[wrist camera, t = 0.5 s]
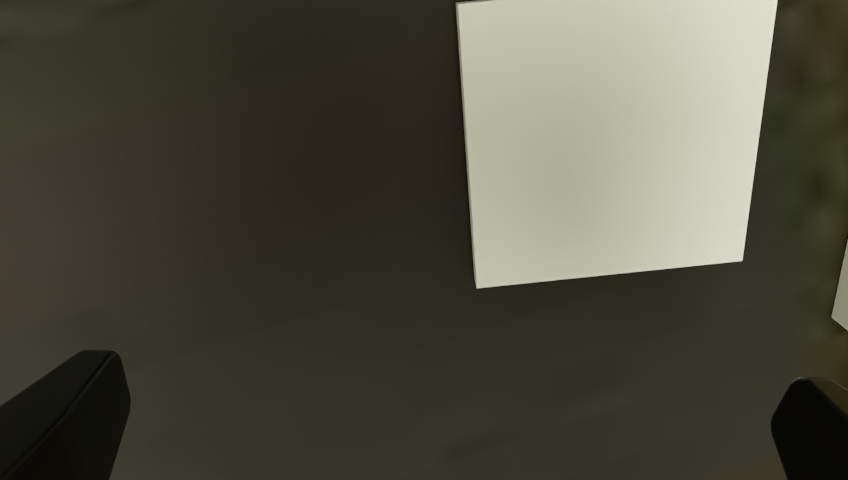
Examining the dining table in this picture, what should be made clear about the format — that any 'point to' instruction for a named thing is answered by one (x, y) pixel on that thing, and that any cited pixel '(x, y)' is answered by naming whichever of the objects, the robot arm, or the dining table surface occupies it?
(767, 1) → the cream panel
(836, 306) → the shallow square tray
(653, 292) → the dining table surface
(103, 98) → the dining table surface
